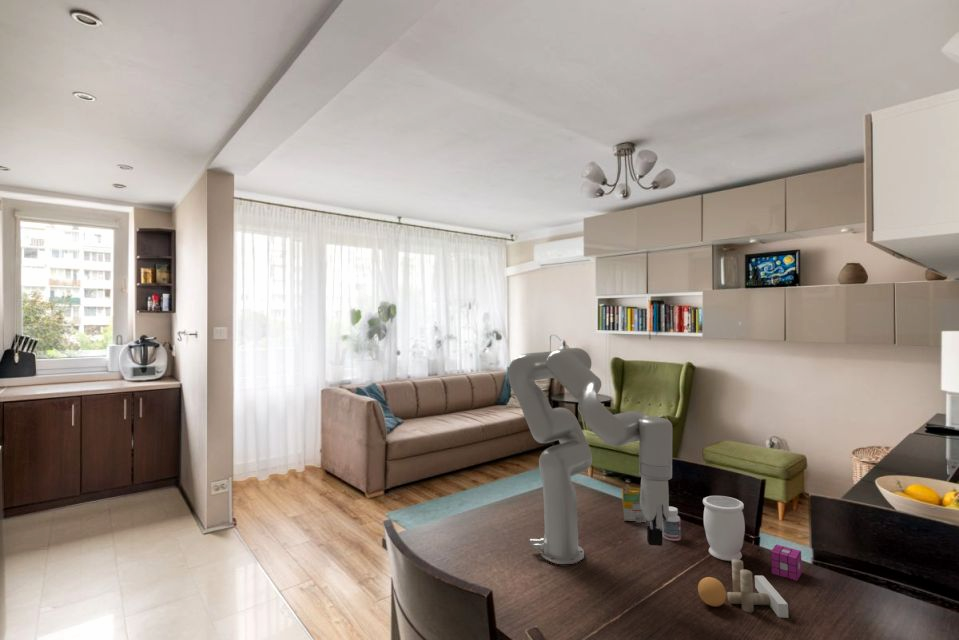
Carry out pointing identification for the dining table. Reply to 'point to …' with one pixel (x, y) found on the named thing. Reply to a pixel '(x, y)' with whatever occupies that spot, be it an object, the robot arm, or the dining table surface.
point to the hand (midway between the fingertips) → (654, 543)
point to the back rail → (772, 596)
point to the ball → (712, 591)
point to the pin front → (757, 598)
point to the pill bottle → (672, 525)
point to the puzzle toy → (786, 562)
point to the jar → (724, 526)
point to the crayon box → (632, 505)
